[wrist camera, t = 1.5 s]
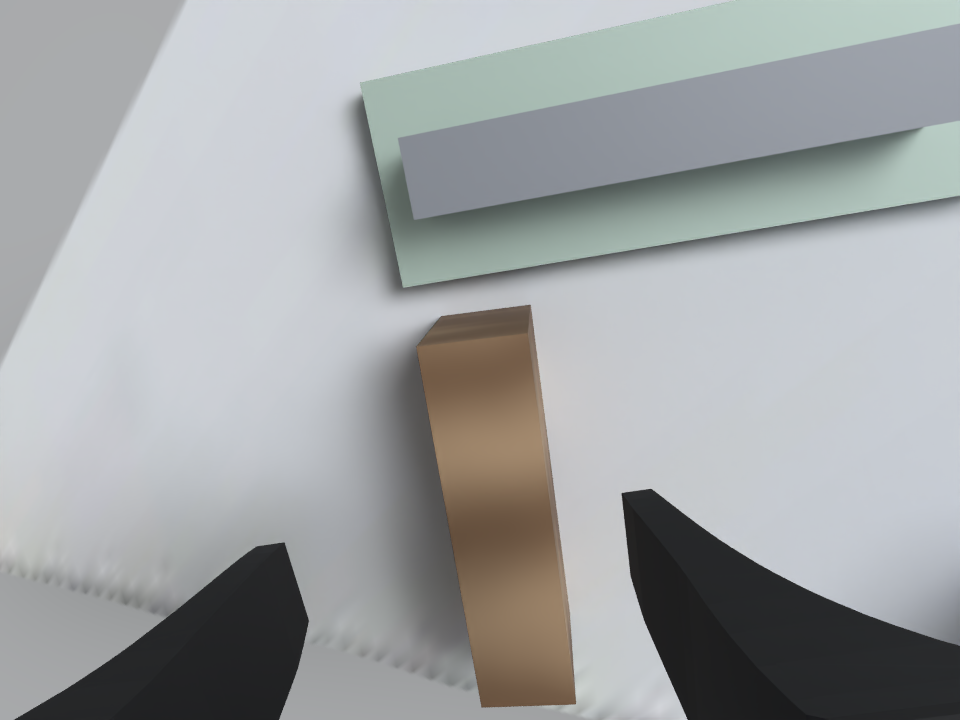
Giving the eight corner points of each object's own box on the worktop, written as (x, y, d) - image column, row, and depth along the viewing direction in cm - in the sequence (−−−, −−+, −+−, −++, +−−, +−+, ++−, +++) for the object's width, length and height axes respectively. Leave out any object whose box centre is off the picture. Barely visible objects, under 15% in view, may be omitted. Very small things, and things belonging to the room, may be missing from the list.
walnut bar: (569, 610, 26) (576, 704, 21) (492, 615, 26) (481, 707, 22) (530, 303, 22) (528, 333, 18) (442, 315, 23) (416, 346, 18)
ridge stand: (981, 188, 20) (1087, 186, 16) (410, 283, 22) (383, 300, 19) (990, -46, 18) (1114, -112, 14) (369, 89, 21) (331, 64, 17)
